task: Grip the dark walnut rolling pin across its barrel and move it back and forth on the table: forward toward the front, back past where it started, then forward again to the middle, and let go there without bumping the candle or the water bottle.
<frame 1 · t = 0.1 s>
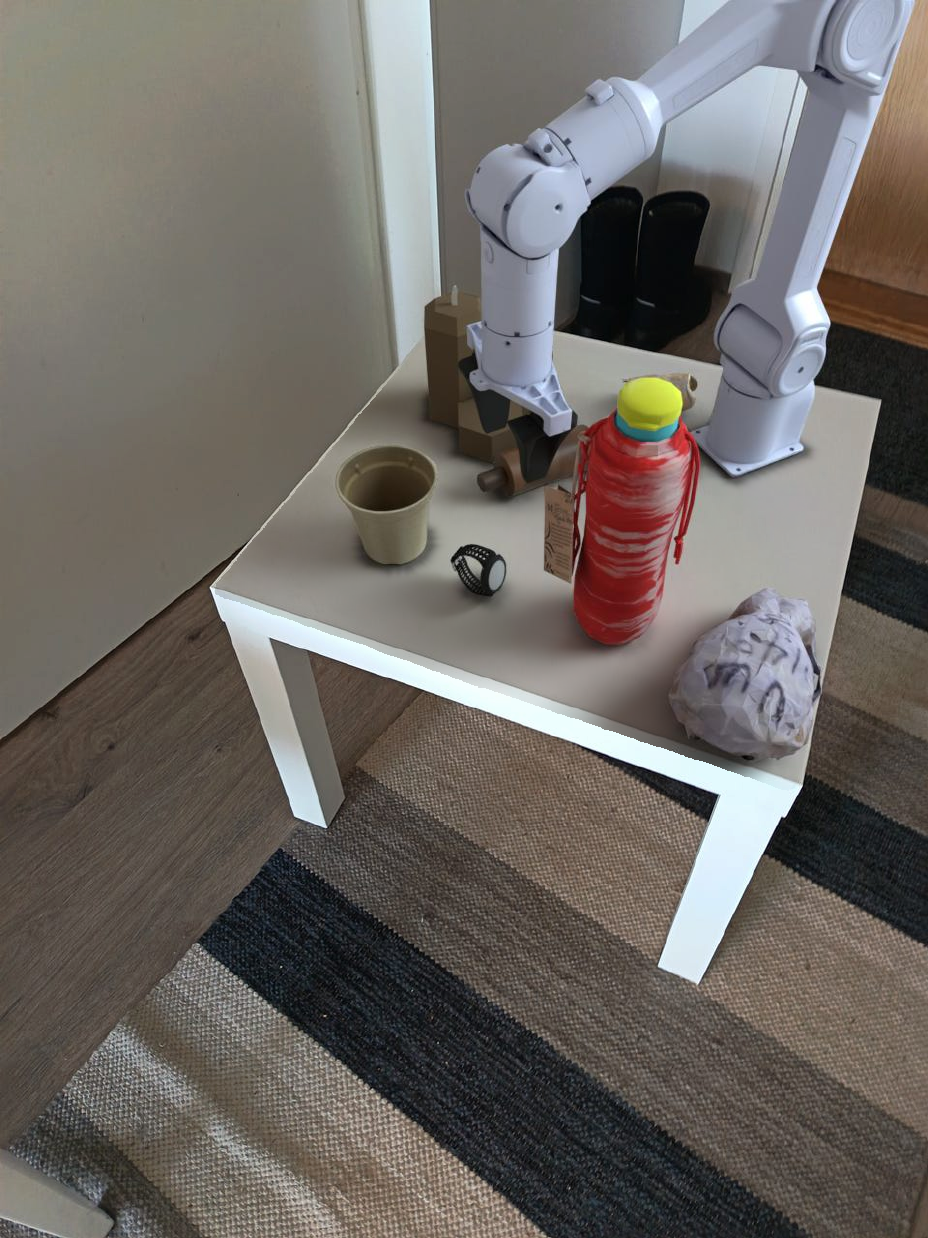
hand: (514, 452, 78), 10 cm above the table, tool pointing down, fingers open, 7 cm apart
candle: (481, 416, 98), on the table
rolling pin: (546, 460, 89), point 2 cm above the table
shell: (655, 407, 98), on the table
water bottle: (595, 619, 78), on the table
scribbled crumpled paper bundle: (748, 705, 73), on the table
flower pot: (394, 544, 85), on the table
smartwatch: (481, 587, 81), on the table
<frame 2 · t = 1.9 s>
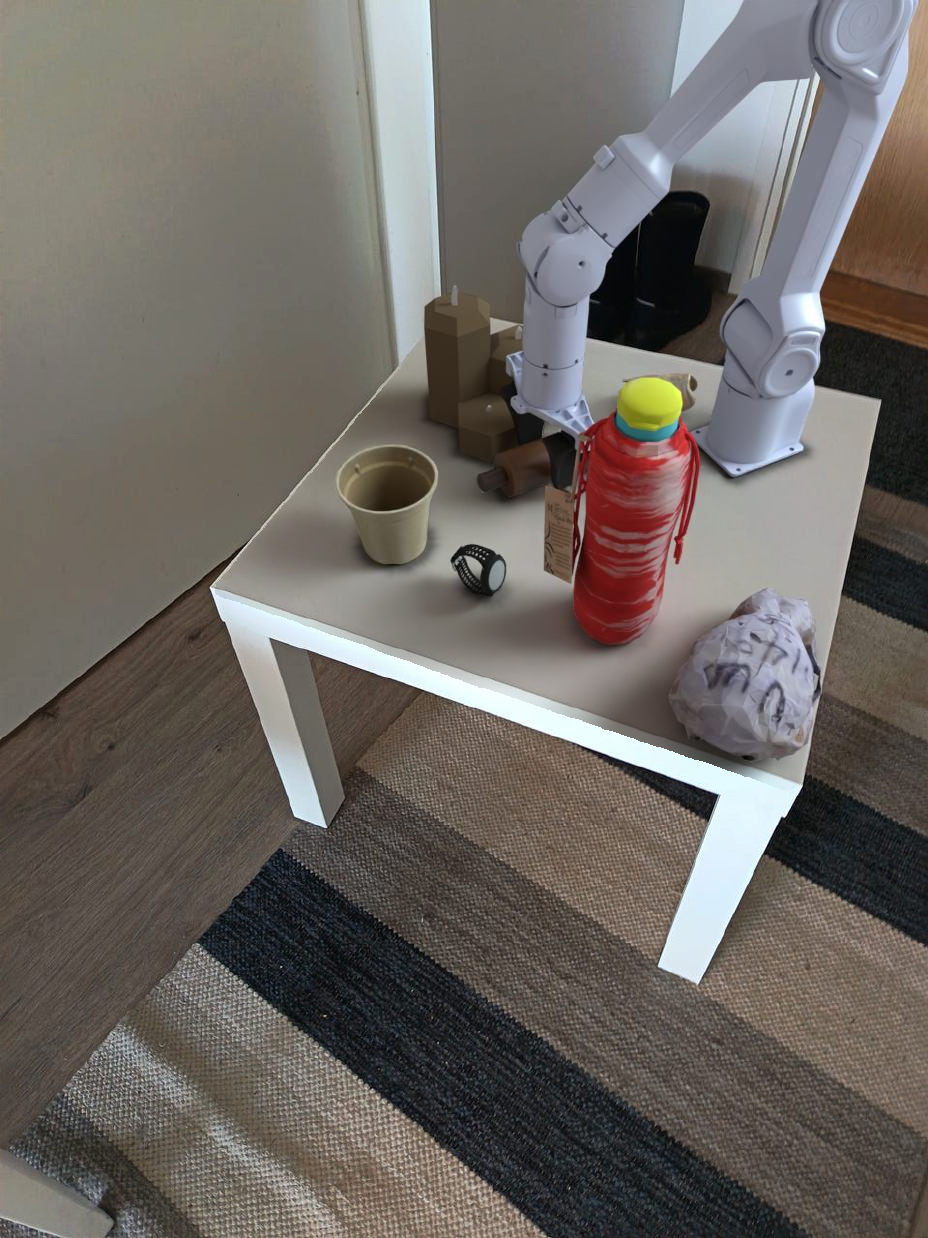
hand: (546, 465, 89), 2 cm above the table, tool pointing down, fingers open, 6 cm apart
nothing on the table moved.
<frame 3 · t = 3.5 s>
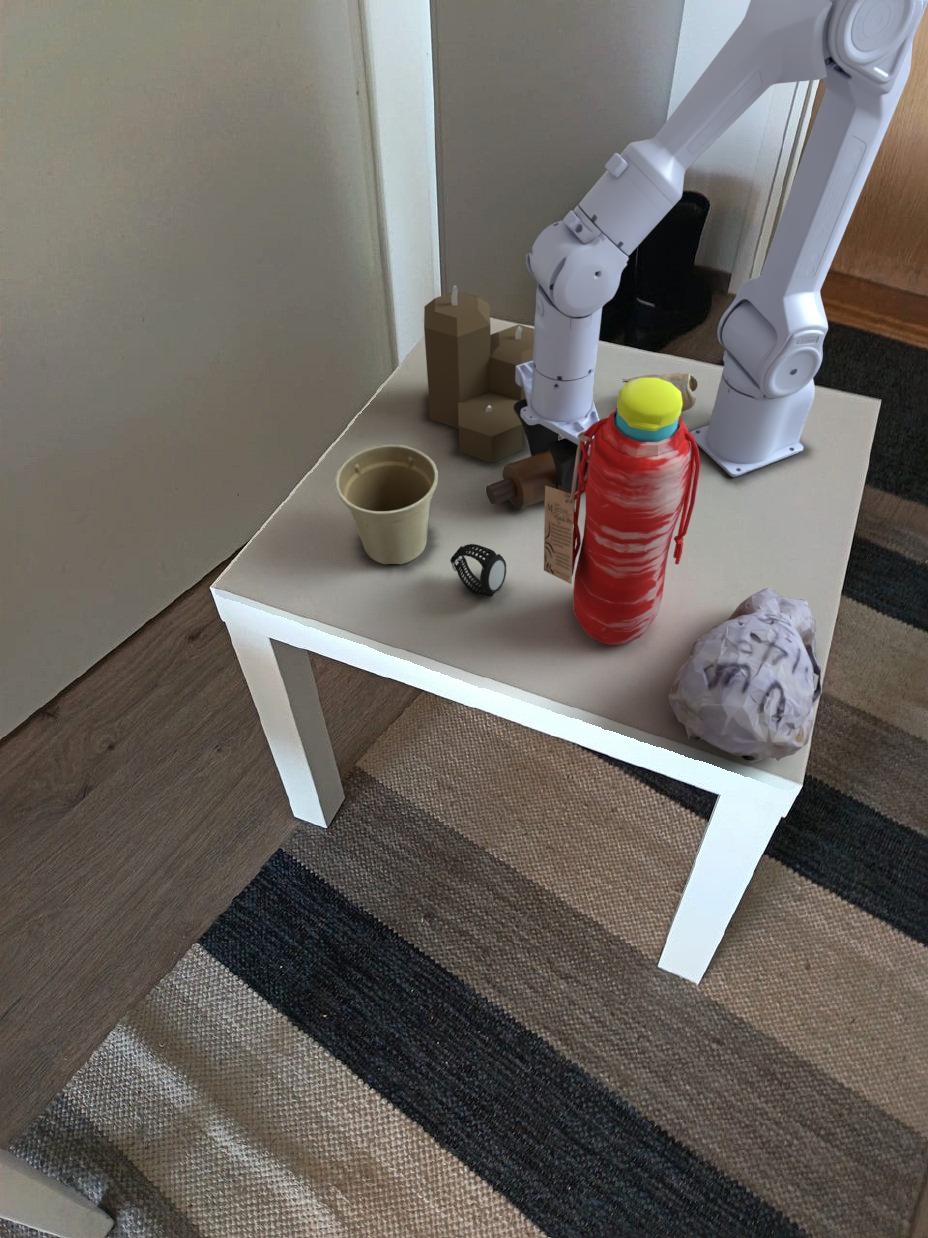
hand: (555, 476, 88), 2 cm above the table, tool pointing down, fingers closed on rolling pin, 4 cm apart
rolling pin: (556, 471, 88), point 2 cm above the table, touching gripper
everything else where it was.
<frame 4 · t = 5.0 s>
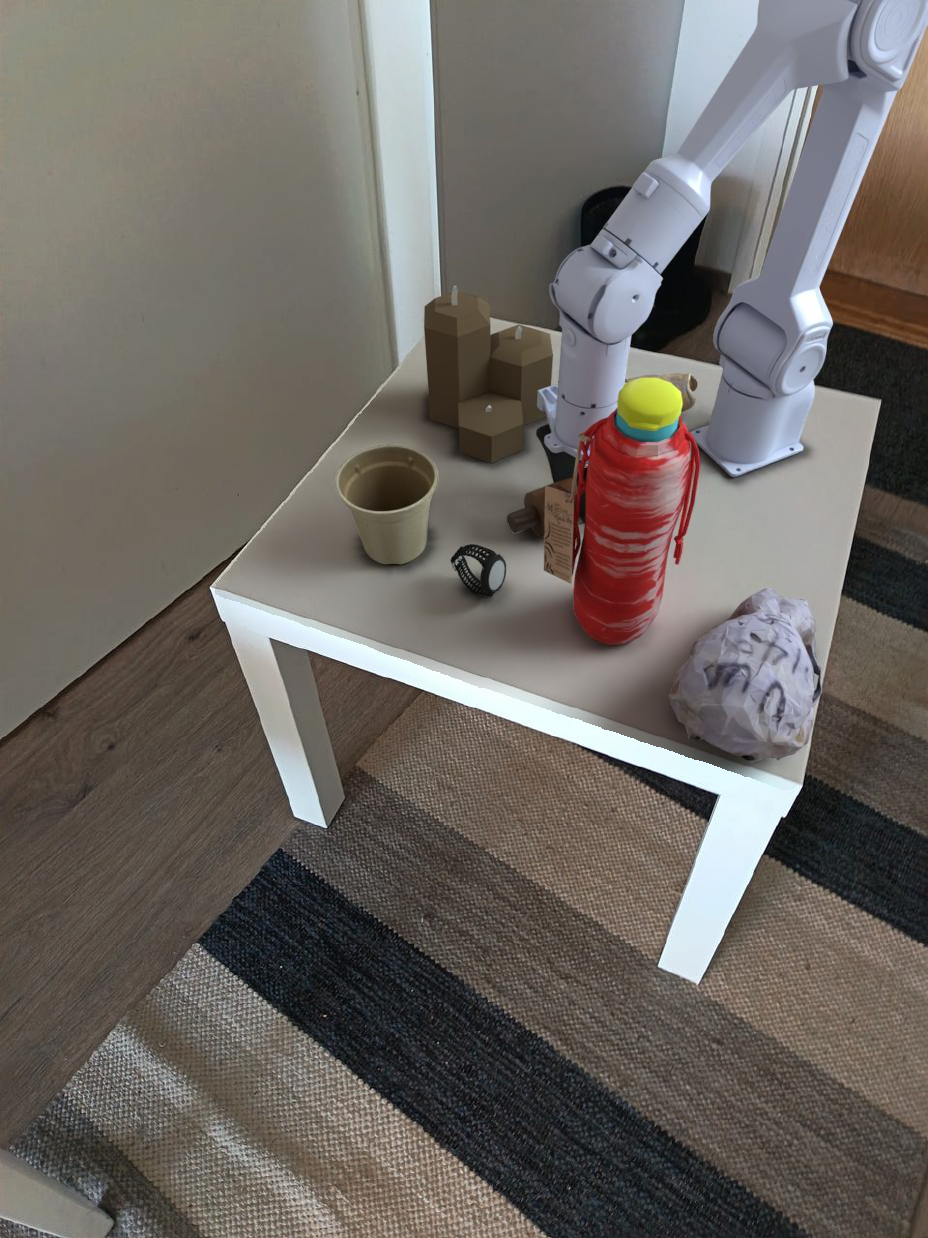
hand: (578, 503, 86), 2 cm above the table, tool pointing down, fingers closed on rolling pin, 4 cm apart
rolling pin: (579, 498, 85), point 2 cm above the table, touching gripper
everything else where it was.
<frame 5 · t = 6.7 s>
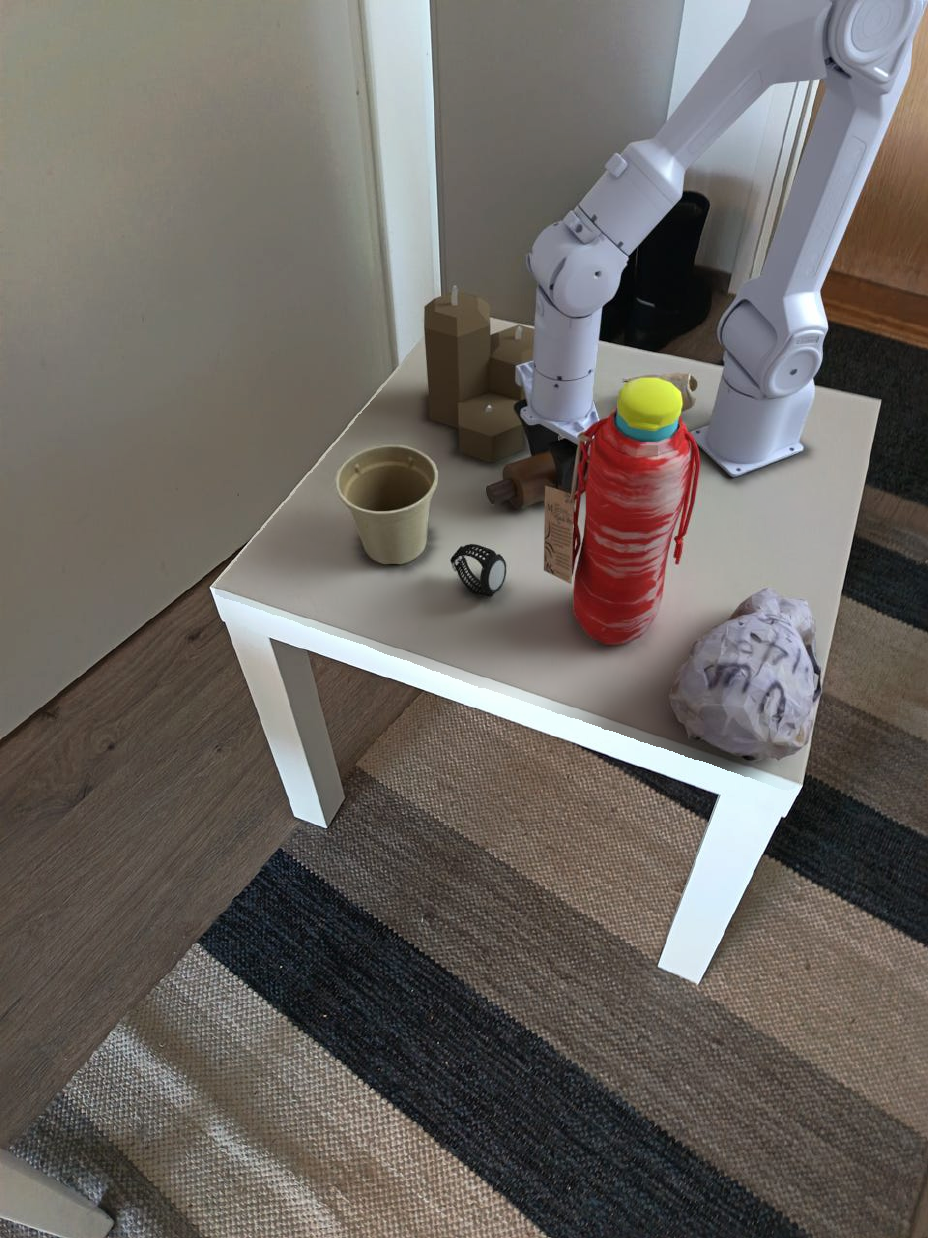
hand: (555, 476, 88), 2 cm above the table, tool pointing down, fingers closed on rolling pin, 4 cm apart
rolling pin: (555, 471, 88), point 2 cm above the table, touching gripper
everything else where it was.
when the fingers open (2 cm above the table, at t = 7.7 s): rolling pin stays where it is, point 2 cm above the table.
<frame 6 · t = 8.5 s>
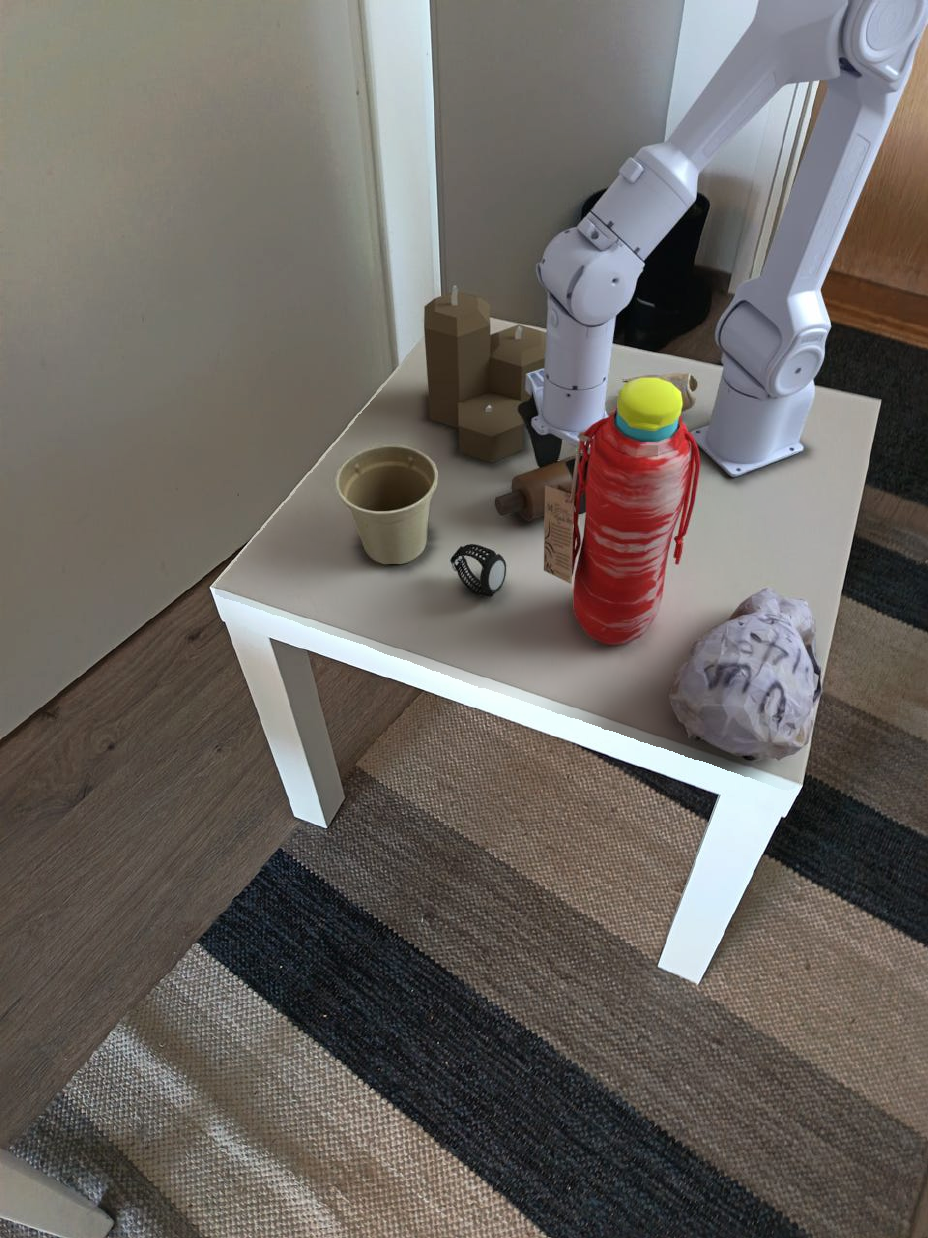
hand: (566, 485, 87), 2 cm above the table, tool pointing down, fingers open, 7 cm apart
rolling pin: (565, 482, 87), point 2 cm above the table
everything else where it was.
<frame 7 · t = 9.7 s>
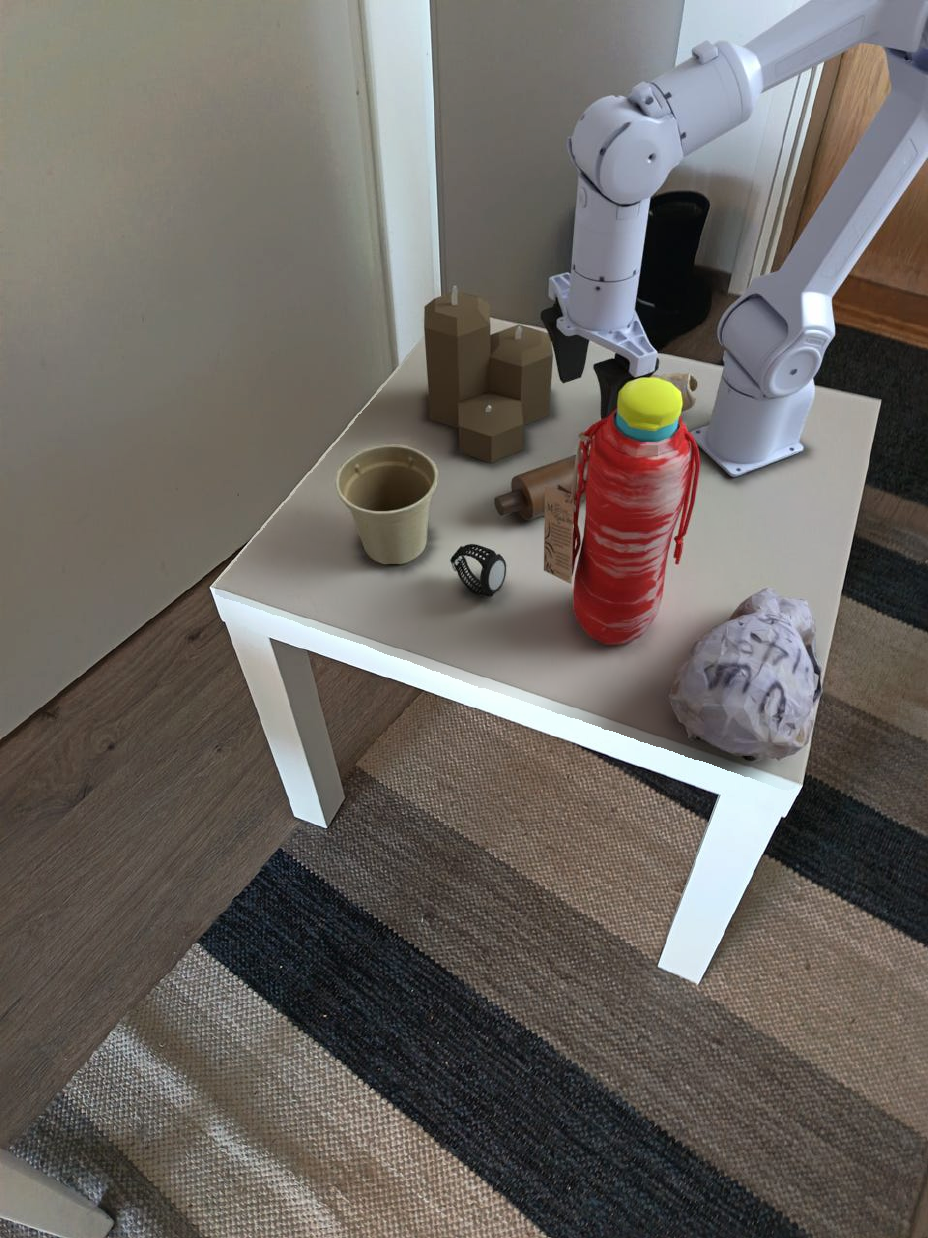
hand: (591, 399, 82), 10 cm above the table, tool pointing down, fingers open, 7 cm apart
nothing on the table moved.
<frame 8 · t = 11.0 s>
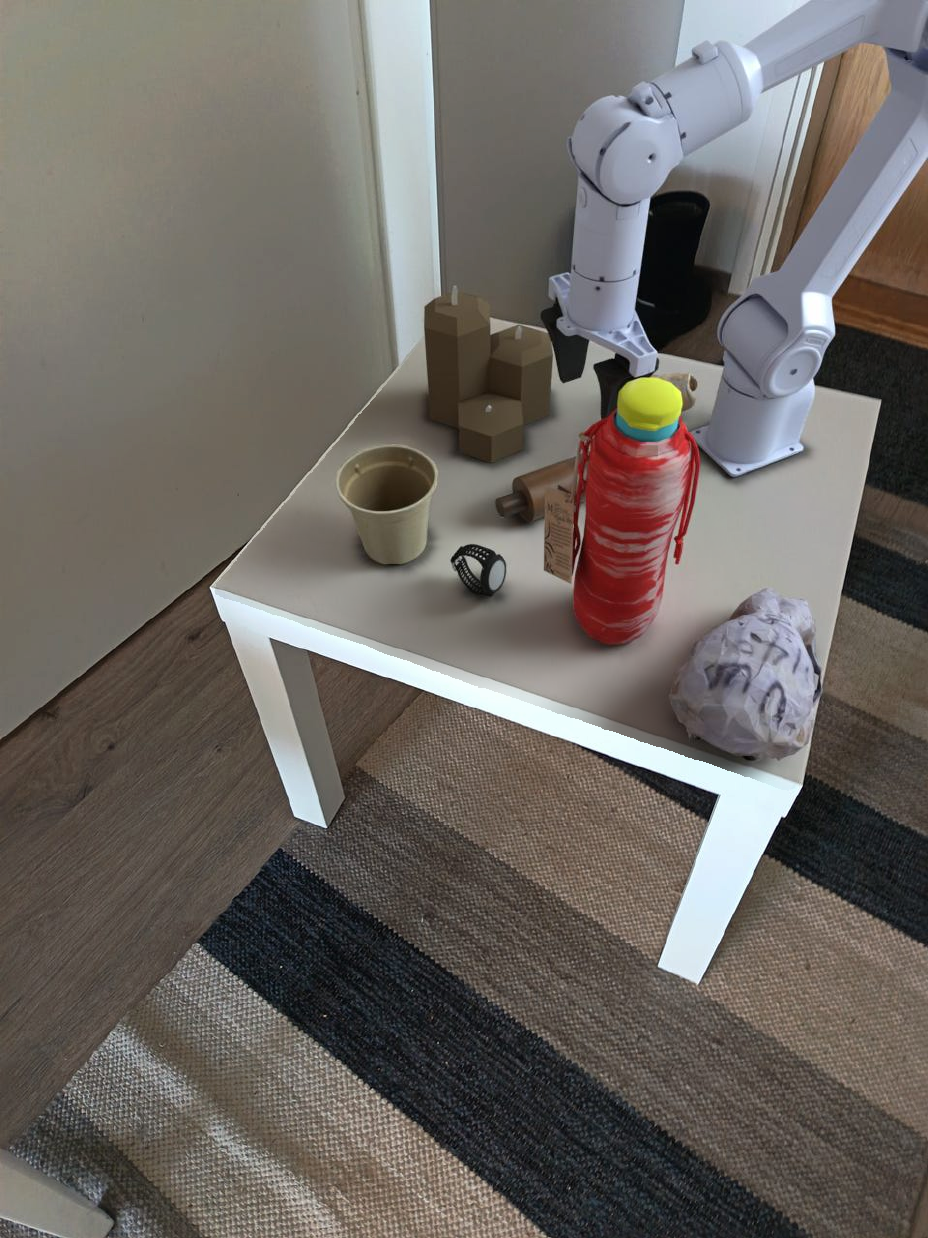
hand: (591, 399, 82), 10 cm above the table, tool pointing down, fingers open, 7 cm apart
nothing on the table moved.
at the end: rolling pin 0.1 cm from the target spot, point 2.3 cm above the table; rolling pin touching table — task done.
